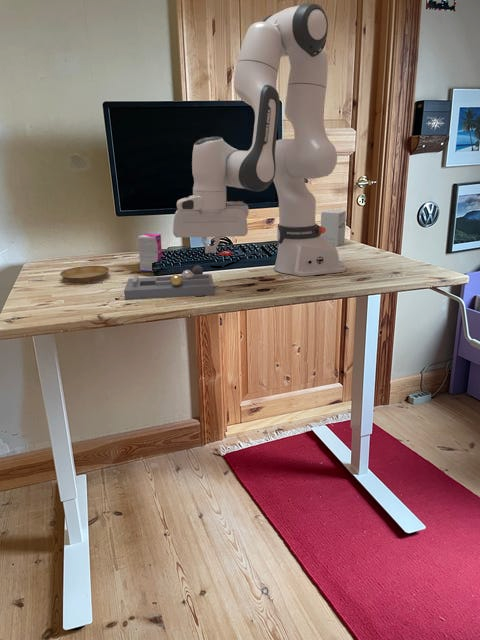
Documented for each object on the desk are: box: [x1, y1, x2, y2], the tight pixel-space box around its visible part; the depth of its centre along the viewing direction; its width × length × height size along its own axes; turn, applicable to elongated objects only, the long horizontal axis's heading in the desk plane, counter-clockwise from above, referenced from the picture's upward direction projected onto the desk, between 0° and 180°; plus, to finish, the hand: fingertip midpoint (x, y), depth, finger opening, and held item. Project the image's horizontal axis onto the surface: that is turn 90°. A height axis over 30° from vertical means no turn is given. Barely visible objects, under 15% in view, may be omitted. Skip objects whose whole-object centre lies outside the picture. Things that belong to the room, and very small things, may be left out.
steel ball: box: [181, 269, 193, 280], centre depth 140 cm, size 3×3×3 cm
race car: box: [218, 250, 234, 256], centre depth 168 cm, size 13×5×4 cm, turn 147°
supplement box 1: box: [137, 233, 163, 273], centre depth 161 cm, size 6×6×12 cm
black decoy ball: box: [191, 264, 204, 275], centre depth 144 cm, size 3×3×3 cm
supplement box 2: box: [320, 209, 347, 248], centre depth 190 cm, size 7×7×13 cm
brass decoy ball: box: [170, 274, 182, 286], centre depth 136 cm, size 3×3×3 cm
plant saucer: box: [59, 265, 110, 285], centre depth 155 cm, size 15×15×3 cm
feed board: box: [123, 273, 215, 301], centre depth 140 cm, size 24×12×4 cm, turn 96°
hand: (210, 252), depth 138 cm, fingers closed
